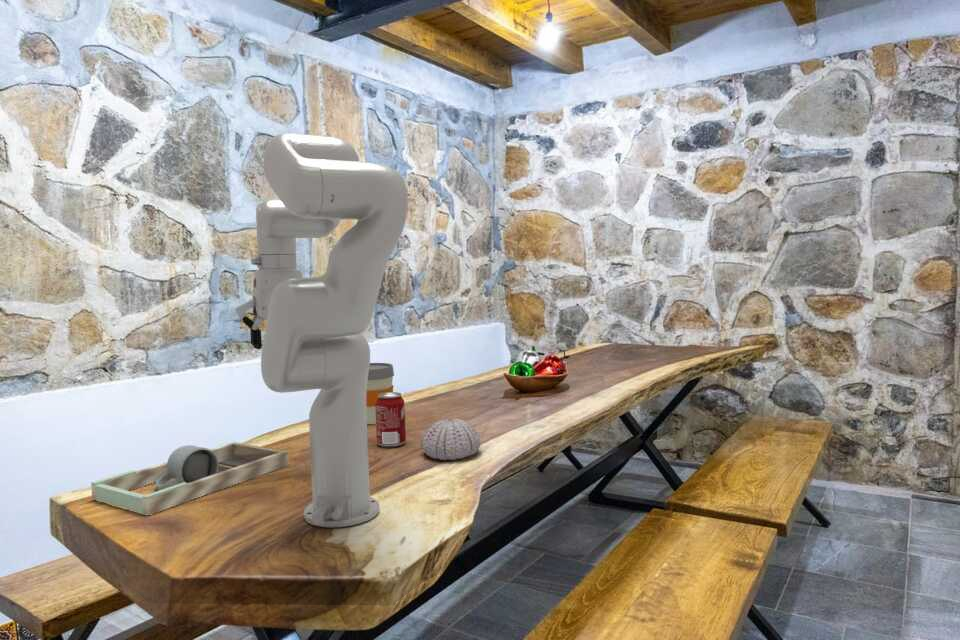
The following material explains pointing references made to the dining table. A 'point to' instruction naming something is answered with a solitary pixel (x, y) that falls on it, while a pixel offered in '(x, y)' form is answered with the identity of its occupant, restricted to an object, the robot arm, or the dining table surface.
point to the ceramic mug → (188, 466)
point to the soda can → (390, 419)
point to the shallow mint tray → (126, 493)
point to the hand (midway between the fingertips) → (280, 346)
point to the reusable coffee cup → (377, 386)
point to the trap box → (240, 456)
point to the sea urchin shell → (450, 440)
